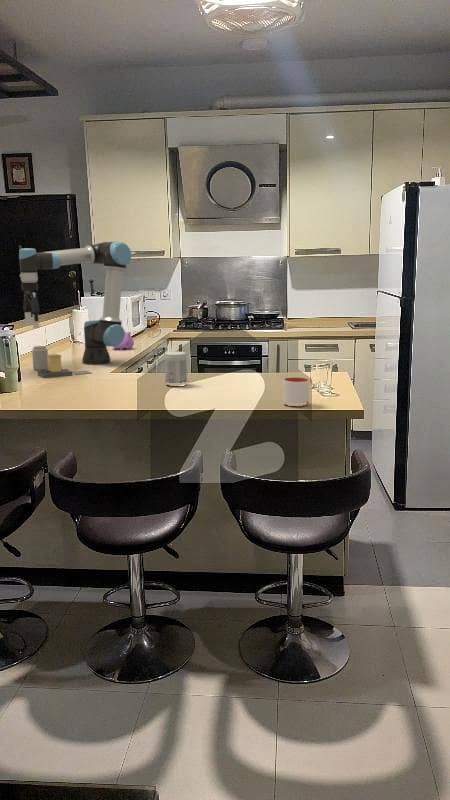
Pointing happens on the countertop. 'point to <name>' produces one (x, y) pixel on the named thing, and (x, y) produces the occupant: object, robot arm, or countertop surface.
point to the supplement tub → (175, 367)
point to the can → (40, 358)
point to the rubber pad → (81, 372)
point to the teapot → (126, 342)
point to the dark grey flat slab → (57, 374)
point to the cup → (295, 390)
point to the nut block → (54, 363)
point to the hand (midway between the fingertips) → (32, 327)
